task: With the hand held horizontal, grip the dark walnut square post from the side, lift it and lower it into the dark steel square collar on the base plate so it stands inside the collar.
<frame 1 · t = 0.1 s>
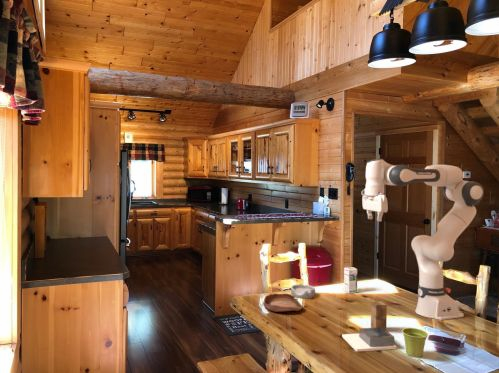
hand: (374, 220, 199), 48 cm above the table, tool pointing down, fingers open, 8 cm apart
steel collar: (376, 336, 169), on the base plate, point 3 cm above the table
base plate: (376, 343, 169), on the table
plant pot: (414, 354, 159), on the table
walnut post: (378, 329, 184), on the table
dish: (302, 295, 236), on the table
basket: (283, 309, 213), on the table
syrup box: (350, 292, 243), on the table
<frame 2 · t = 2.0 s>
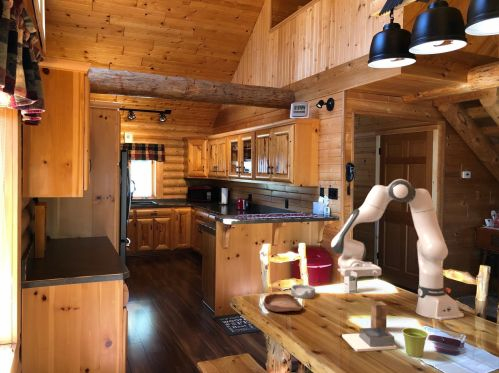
hand: (367, 275, 195), 22 cm above the table, tool horizontal, fingers open, 8 cm apart
nothing on the table moved.
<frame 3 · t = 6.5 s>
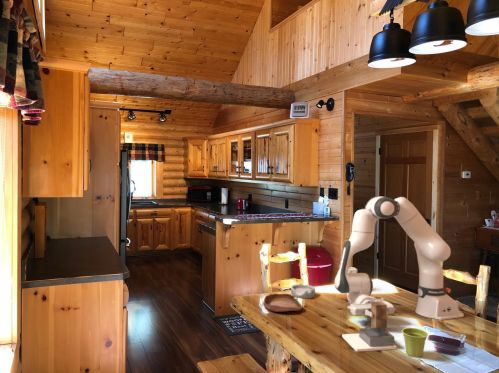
hand: (379, 314, 183), 7 cm above the table, tool horizontal, fingers closed on walnut post, 5 cm apart
walnut post: (378, 329, 184), on the table, touching gripper
everything else where it was.
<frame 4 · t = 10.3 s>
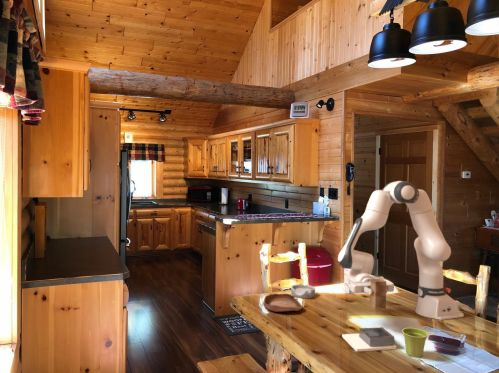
hand: (379, 291, 181), 18 cm above the table, tool horizontal, fingers closed on walnut post, 5 cm apart
walnut post: (377, 306, 182), point 11 cm above the table, touching gripper
everything else where it was.
when the fingers open (9 cm above the table, at t = 14.0 s): walnut post drops 1 cm, resting on base plate.
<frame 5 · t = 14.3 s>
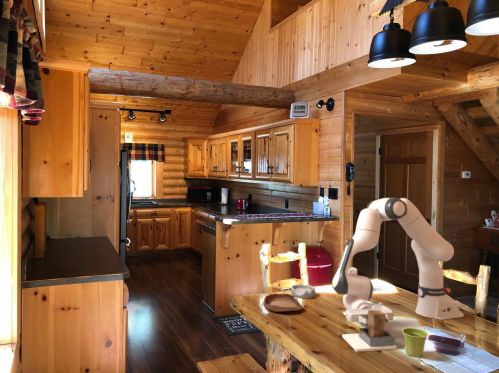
hand: (377, 321, 168), 9 cm above the table, tool horizontal, fingers open, 8 cm apart
walnut post: (376, 340, 169), point 1 cm above the table, touching base plate
everything else where it was.
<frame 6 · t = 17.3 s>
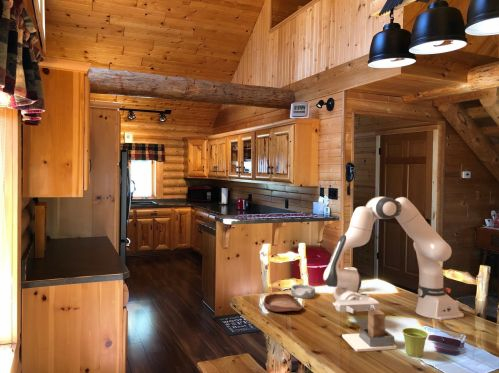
hand: (364, 311, 180), 9 cm above the table, tool horizontal, fingers open, 8 cm apart
nothing on the table moved.
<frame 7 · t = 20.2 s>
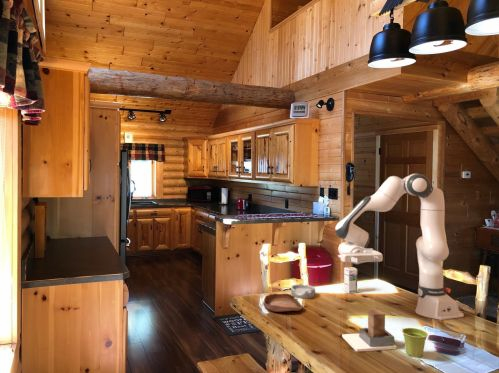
hand: (368, 260, 190), 30 cm above the table, tool horizontal, fingers open, 8 cm apart
nothing on the table moved.
at the end: walnut post 0.0 cm off-centre on the steel collar, point 1.0 cm above the steel collar's base; walnut post tilted 0°; the gripper is holding nothing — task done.
